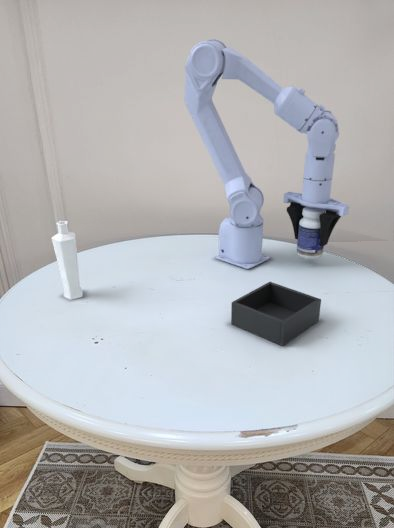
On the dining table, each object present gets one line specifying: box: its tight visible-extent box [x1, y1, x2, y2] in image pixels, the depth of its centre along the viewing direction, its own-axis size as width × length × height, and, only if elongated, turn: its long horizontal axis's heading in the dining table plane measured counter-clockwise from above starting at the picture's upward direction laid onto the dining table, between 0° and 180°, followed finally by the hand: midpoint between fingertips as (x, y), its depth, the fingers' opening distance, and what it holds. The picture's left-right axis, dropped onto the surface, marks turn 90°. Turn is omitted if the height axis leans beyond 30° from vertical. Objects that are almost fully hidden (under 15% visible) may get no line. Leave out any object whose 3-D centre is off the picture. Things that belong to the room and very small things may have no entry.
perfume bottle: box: [51, 220, 84, 301], centre depth 103 cm, size 5×4×15 cm
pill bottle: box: [296, 207, 326, 259], centre depth 114 cm, size 6×6×10 cm
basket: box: [230, 281, 322, 347], centre depth 94 cm, size 11×11×4 cm
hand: (311, 241), depth 115 cm, fingers closed on pill bottle, 6 cm apart
